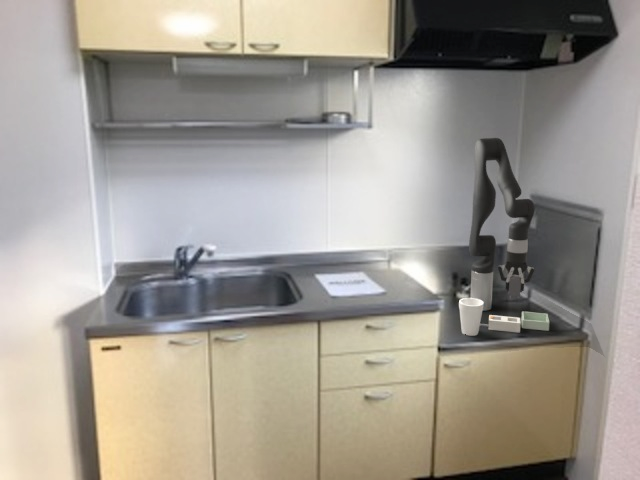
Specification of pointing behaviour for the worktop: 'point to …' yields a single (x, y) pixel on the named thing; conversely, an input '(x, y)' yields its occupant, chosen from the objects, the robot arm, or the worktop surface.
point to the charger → (514, 286)
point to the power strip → (503, 323)
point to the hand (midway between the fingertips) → (514, 291)
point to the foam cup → (470, 315)
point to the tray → (535, 321)
